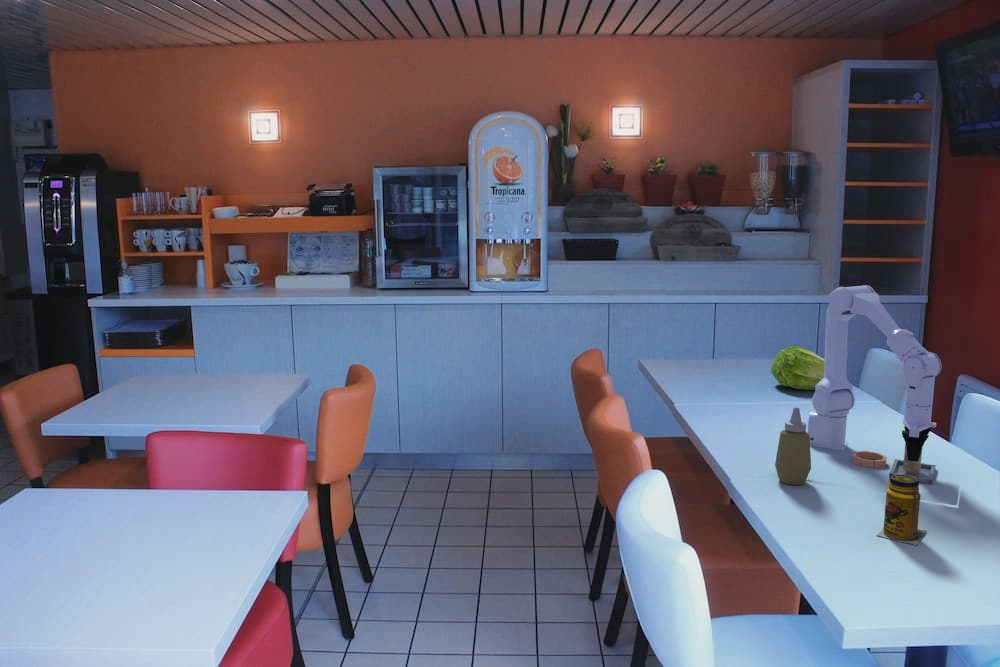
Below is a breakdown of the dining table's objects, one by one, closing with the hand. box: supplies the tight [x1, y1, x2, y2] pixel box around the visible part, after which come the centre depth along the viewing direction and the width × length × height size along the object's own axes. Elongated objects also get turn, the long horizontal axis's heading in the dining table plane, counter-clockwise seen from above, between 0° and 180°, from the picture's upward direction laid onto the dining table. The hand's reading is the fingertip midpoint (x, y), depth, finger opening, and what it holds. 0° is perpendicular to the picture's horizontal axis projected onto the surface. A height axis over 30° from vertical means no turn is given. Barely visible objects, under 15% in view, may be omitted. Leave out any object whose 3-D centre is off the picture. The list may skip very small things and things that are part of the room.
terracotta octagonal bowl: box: [851, 450, 887, 469], centre depth 200 cm, size 8×8×2 cm
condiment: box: [876, 475, 928, 546], centre depth 158 cm, size 7×8×12 cm
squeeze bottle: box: [774, 407, 812, 486], centre depth 187 cm, size 8×8×18 cm
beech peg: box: [903, 442, 923, 473], centre depth 191 cm, size 4×4×8 cm
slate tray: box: [888, 458, 937, 486], centre depth 192 cm, size 9×12×2 cm
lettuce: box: [771, 345, 848, 391], centre depth 276 cm, size 15×24×16 cm
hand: (913, 458), depth 191 cm, fingers closed on beech peg, 3 cm apart
